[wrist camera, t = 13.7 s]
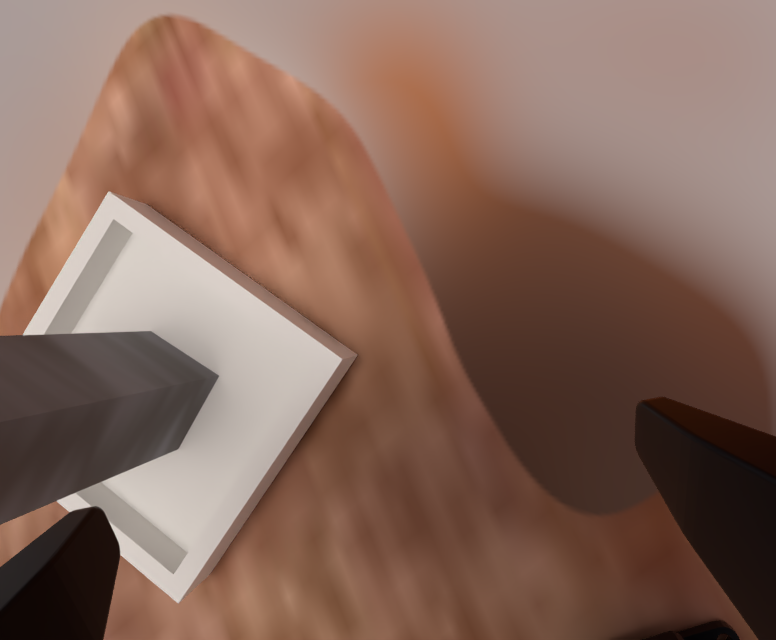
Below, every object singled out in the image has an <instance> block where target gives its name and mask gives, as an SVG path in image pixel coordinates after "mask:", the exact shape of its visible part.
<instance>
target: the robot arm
mask: <svg viewBox="0 0 776 640" xmlns="http://www.w3.org/2000/svg"><path fill="white" fill-rule="evenodd" d="M635 446H636V450H637V452H638V455H639V457H640V459H641V460H642V462H643V464H644V465H645V467H646V469H647V471H648V473H649V474H650V476H651V478H652V480H653V481H654V483H655V485H656V487H657V489H658V490H659V492H660V494H661V496H662V498H663V499H664V501H665V503H666V505H667V506H668V508H669V510H670V512H671V514H672V515H673V517H674V519H675V521H676V522H677V524H678V526H679V527H680V529H681V530H682V532H683V534H684V535H685V537H686V538H687V540H688V541H689V543H690V544H691V545H692V547H693V548H694V550H695V551H696V553H697V554H698V555H699V557H700V558H701V560H702V561H703V562H704V564H705V565H706V567H707V568H708V569H709V571H710V572H711V574H712V575H713V576H714V578H715V579H716V581H717V582H718V583H719V585H720V586H721V588H722V589H723V590H724V592H725V593H726V595H727V596H728V597H729V599H730V600H731V602H732V603H733V604H734V606H735V607H736V609H737V610H738V611H739V613H740V614H741V616H742V617H743V618H744V620H745V621H746V623H747V624H748V625H749V627H750V628H751V630H752V631H753V632H754V634H755V635H756V637H757V638H758V639H759V640H776V436H773V435H770V434H767V433H765V432H762V431H759V430H756V429H753V428H750V427H748V426H745V425H742V424H739V423H736V422H734V421H731V420H728V419H725V418H722V417H720V416H717V415H714V414H711V413H708V412H705V411H703V410H700V409H697V408H694V407H691V406H688V405H685V404H683V403H680V402H677V401H674V400H672V399H669V398H666V397H656V398H651V399H646V400H641V401H640V402H639V403H638V404H637V407H636V419H635ZM119 560H120V546H119V542H118V540H117V538H116V535H115V533H114V531H113V529H112V527H111V525H110V523H109V521H108V518H107V516H106V514H105V512H104V511H103V509H101V508H100V507H97V506H93V507H87V508H82V509H77V510H73V511H71V512H70V513H68V514H67V515H66V516H64V517H63V518H62V519H61V520H59V521H58V522H57V523H56V524H54V525H53V526H52V527H51V528H49V529H48V530H47V531H46V532H44V533H43V534H42V535H40V536H39V537H38V538H37V539H35V540H34V541H33V542H32V543H30V544H29V545H28V546H27V547H25V548H24V549H23V550H22V551H20V552H19V553H18V554H16V555H15V556H14V557H13V558H11V559H10V560H9V561H8V562H6V563H5V564H4V565H3V566H1V567H0V640H103V639H104V634H105V629H106V624H107V619H108V614H109V610H110V605H111V600H112V595H113V590H114V585H115V580H116V575H117V570H118V565H119ZM720 634H727V638H726V640H740V639H739V637H738V635H737V634H736V632H735V631H734V630H733V628H732V627H731V626H730V625H729V624H727V623H726V622H722V621H714V622H710V623H707V624H703V625H700V626H697V627H693V628H690V629H687V630H683V631H680V632H676V633H675V632H673V631H669V632H666V633H662V634H659V635H656V636H652V637H649V638H646V639H642V640H717V637H718V636H719V635H720Z"/></svg>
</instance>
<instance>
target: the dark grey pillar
mask: <svg viewBox="0 0 776 640" xmlns="http://www.w3.org/2000/svg"><path fill="white" fill-rule="evenodd" d="M218 377H219V375H217V374H216V373H214V372H213V371H211V370H210V369H208V368H207V367H205V366H204V365H202V364H201V363H199V362H197V361H196V360H194V359H193V358H191V357H190V356H188V355H187V354H185V353H184V352H182V351H181V350H179V349H178V348H176V347H175V346H173V345H171V344H170V343H168V342H167V341H165V340H164V339H162V338H161V337H159V336H158V335H156V334H155V333H153V332H152V331H136V332H106V333H76V334H46V335H16V336H0V525H1V524H3V523H5V522H8V521H10V520H12V519H15V518H17V517H19V516H22V515H24V514H27V513H29V512H31V511H34V510H36V509H38V508H41V507H43V506H45V505H48V504H50V503H52V502H55V501H57V500H60V499H62V498H64V497H67V496H69V495H71V494H74V493H76V492H78V491H81V490H83V489H86V488H88V487H90V486H93V485H95V484H97V483H100V482H102V481H104V480H107V479H109V478H112V477H114V476H116V475H119V474H121V473H123V472H126V471H128V470H130V469H133V468H135V467H137V466H140V465H142V464H145V463H147V462H149V461H152V460H154V459H156V458H159V457H161V456H163V455H166V454H168V453H171V452H173V451H175V450H178V449H179V447H180V445H181V444H182V442H183V440H184V438H185V436H186V435H187V433H188V431H189V429H190V427H191V426H192V424H193V422H194V420H195V419H196V417H197V415H198V413H199V411H200V410H201V408H202V406H203V404H204V402H205V401H206V399H207V397H208V395H209V393H210V392H211V390H212V388H213V386H214V384H215V383H216V381H217V379H218Z"/></svg>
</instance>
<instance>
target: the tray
mask: <svg viewBox="0 0 776 640" xmlns="http://www.w3.org/2000/svg"><path fill="white" fill-rule="evenodd" d="M136 331H152V332H153V333H155V334H156V335H158V336H159V337H161V338H162V339H164V340H165V341H167V342H168V343H170V344H171V345H173V346H175V347H176V348H178V349H179V350H181V351H182V352H184V353H185V354H187V355H188V356H190V357H191V358H193V359H194V360H196V361H197V362H199V363H201V364H202V365H204V366H205V367H207V368H208V369H210V370H211V371H213V372H214V373H216V374H217V375H219V377H218V379H217V381H216V383H215V384H214V386H213V388H212V390H211V392H210V393H209V395H208V397H207V399H206V401H205V402H204V404H203V406H202V408H201V410H200V411H199V413H198V415H197V417H196V419H195V420H194V422H193V424H192V426H191V427H190V429H189V431H188V433H187V435H186V436H185V438H184V440H183V442H182V444H181V445H180V447H179V449H178V450H175V451H173V452H171V453H168V454H166V455H163V456H161V457H159V458H156V459H154V460H152V461H149V462H147V463H145V464H142V465H140V466H137V467H135V468H133V469H130V470H128V471H126V472H123V473H121V474H119V475H116V476H114V477H112V478H109V479H107V480H104V481H102V482H100V483H97V484H95V485H93V486H90V487H88V488H86V489H83V490H81V491H78V492H76V493H74V494H71V495H69V496H67V497H64V498H62V499H60V500H57V502H58V503H59V504H60V505H62V506H63V507H64V508H65V509H66V510H68V511H69V512H71V511H73V510H77V509H82V508H87V507H93V506H97V507H100V508H101V509H103V511H104V512H105V514H106V516H107V518H108V521H109V523H110V525H111V527H112V529H113V531H114V533H115V535H116V538H117V540H118V542H119V546H120V555H121V556H122V557H124V558H125V559H126V560H127V561H128V562H129V563H131V564H132V565H133V566H134V567H135V568H137V569H138V570H139V571H140V572H141V573H143V574H144V575H145V576H146V577H147V578H149V579H150V580H151V581H152V582H153V583H154V584H156V585H157V586H158V587H159V588H160V589H162V590H163V591H164V592H165V593H166V594H168V595H169V596H170V597H171V598H172V599H174V600H175V601H176V602H177V603H178V604H179V603H180V602H181V601H182V600H183V599H184V598H185V597H186V596H187V595H188V594H189V593H190V592H192V591H193V590H194V589H195V588H196V587H197V586H198V585H199V584H200V583H201V582H202V581H203V580H204V579H206V578H207V577H208V576H209V575H210V574H211V572H212V571H213V569H214V568H215V566H216V565H217V563H218V562H219V560H220V559H221V557H222V556H223V554H224V553H225V551H226V550H227V548H228V547H229V545H230V544H231V542H232V541H233V539H234V538H235V536H236V535H237V534H238V532H239V531H240V529H241V528H242V526H243V525H244V523H245V522H246V520H247V519H248V517H249V516H250V514H251V513H252V511H253V510H254V508H255V507H256V505H257V504H258V502H259V501H260V499H261V498H262V496H263V495H264V493H265V492H266V491H267V489H268V488H269V486H270V485H271V483H272V482H273V480H274V479H275V477H276V476H277V474H278V473H279V471H280V470H281V468H282V467H283V465H284V464H285V462H286V461H287V459H288V458H289V456H290V455H291V453H292V452H293V450H294V449H295V448H296V446H297V445H298V443H299V442H300V440H301V439H302V437H303V436H304V434H305V433H306V431H307V430H308V428H309V427H310V425H311V424H312V422H313V421H314V419H315V418H316V416H317V415H318V413H319V412H320V410H321V409H322V407H323V406H324V404H325V403H326V402H327V400H328V399H329V397H330V396H331V394H332V393H333V391H334V390H335V388H336V387H337V385H338V384H339V382H340V381H341V379H342V378H343V376H344V375H345V373H346V372H347V370H348V369H349V367H350V366H351V364H352V363H353V361H354V360H355V359H356V357H357V356H358V355H357V354H356V353H354V352H353V351H352V350H350V349H349V348H347V347H346V346H345V345H343V344H342V343H340V342H339V341H338V340H336V339H335V338H333V337H332V336H331V335H329V334H328V333H326V332H325V331H324V330H322V329H321V328H319V327H318V326H317V325H315V324H314V323H312V322H311V321H310V320H308V319H307V318H305V317H304V316H303V315H301V314H300V313H298V312H297V311H296V310H294V309H293V308H291V307H290V306H289V305H287V304H286V303H284V302H283V301H282V300H280V299H279V298H277V297H276V296H275V295H273V294H272V293H270V292H269V291H268V290H266V289H265V288H263V287H262V286H261V285H259V284H258V283H256V282H255V281H254V280H252V279H251V278H249V277H248V276H247V275H245V274H244V273H242V272H241V271H240V270H238V269H237V268H235V267H234V266H233V265H231V264H230V263H228V262H227V261H226V260H224V259H223V258H221V257H220V256H219V255H217V254H216V253H214V252H213V251H212V250H210V249H209V248H207V247H206V246H205V245H203V244H202V243H200V242H199V241H198V240H196V239H195V238H193V237H192V236H191V235H189V234H188V233H186V232H185V231H184V230H182V229H181V228H179V227H178V226H177V225H175V224H174V223H172V222H171V221H169V220H168V219H167V218H165V217H164V216H162V215H161V214H160V213H158V212H157V211H155V210H154V209H153V208H151V207H150V206H148V205H147V204H145V203H142V202H139V201H136V200H133V199H130V198H127V197H124V196H121V195H118V194H115V193H113V192H110V191H109V192H108V193H107V195H106V197H105V198H104V200H103V202H102V203H101V205H100V207H99V208H98V210H97V212H96V213H95V215H94V217H93V218H92V220H91V222H90V223H89V225H88V227H87V228H86V230H85V232H84V233H83V235H82V237H81V238H80V240H79V242H78V243H77V245H76V247H75V248H74V250H73V252H72V253H71V255H70V257H69V258H68V260H67V262H66V263H65V265H64V267H63V268H62V270H61V272H60V273H59V275H58V277H57V278H56V280H55V282H54V283H53V285H52V287H51V288H50V290H49V292H48V293H47V295H46V297H45V298H44V300H43V302H42V303H41V305H40V307H39V308H38V310H37V312H36V313H35V315H34V317H33V318H32V320H31V322H30V323H29V325H28V327H27V328H26V330H25V332H24V333H23V335H46V334H76V333H106V332H136Z"/></svg>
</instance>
